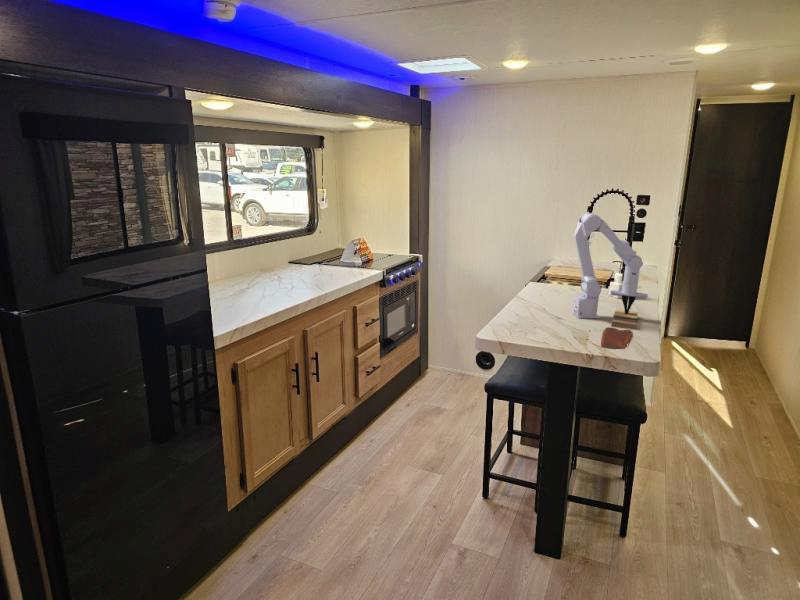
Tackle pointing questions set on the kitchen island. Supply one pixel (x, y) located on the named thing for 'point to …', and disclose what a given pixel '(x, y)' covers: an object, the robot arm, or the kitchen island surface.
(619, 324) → the walnut board
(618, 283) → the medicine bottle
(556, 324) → the kitchen island surface
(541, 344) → the kitchen island surface
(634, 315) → the oak plank
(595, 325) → the kitchen island surface
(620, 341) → the wooden tablet
